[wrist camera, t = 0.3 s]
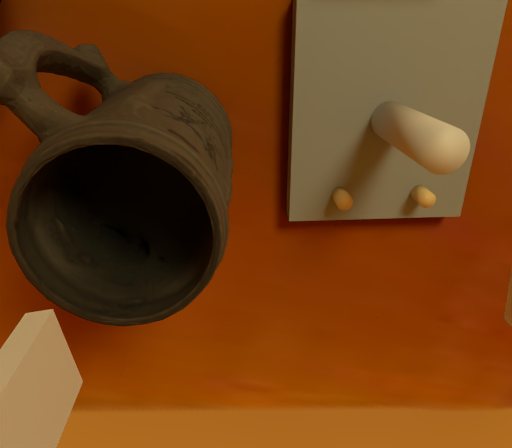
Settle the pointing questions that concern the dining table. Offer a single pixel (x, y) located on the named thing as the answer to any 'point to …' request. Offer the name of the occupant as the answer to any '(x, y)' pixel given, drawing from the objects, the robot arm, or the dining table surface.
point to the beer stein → (116, 185)
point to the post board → (374, 73)
